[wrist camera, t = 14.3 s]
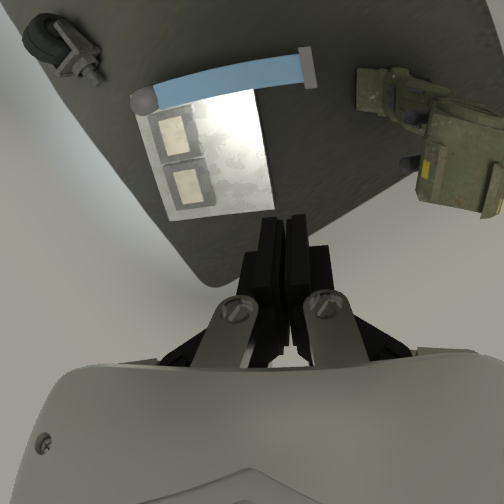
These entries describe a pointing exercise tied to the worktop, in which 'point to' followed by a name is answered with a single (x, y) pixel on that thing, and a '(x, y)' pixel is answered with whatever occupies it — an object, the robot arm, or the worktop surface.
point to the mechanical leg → (441, 138)
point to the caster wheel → (61, 47)
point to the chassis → (209, 156)
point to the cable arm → (226, 81)
